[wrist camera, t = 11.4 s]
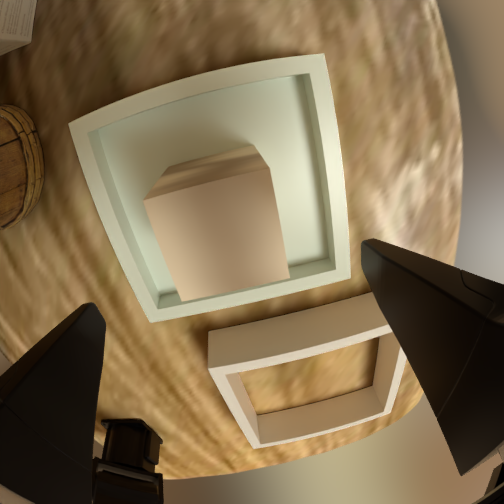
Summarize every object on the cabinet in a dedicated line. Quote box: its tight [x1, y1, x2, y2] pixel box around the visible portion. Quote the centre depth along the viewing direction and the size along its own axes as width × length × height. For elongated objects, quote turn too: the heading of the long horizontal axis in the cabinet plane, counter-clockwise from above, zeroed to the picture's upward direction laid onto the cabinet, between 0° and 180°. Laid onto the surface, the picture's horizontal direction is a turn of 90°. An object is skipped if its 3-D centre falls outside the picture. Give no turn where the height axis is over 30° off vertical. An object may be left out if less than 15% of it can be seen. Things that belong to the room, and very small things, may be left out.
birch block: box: [143, 145, 290, 302], centre depth 15 cm, size 5×5×6 cm
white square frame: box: [208, 292, 407, 449], centre depth 26 cm, size 16×16×4 cm
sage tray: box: [68, 54, 351, 323], centre depth 17 cm, size 14×14×2 cm
